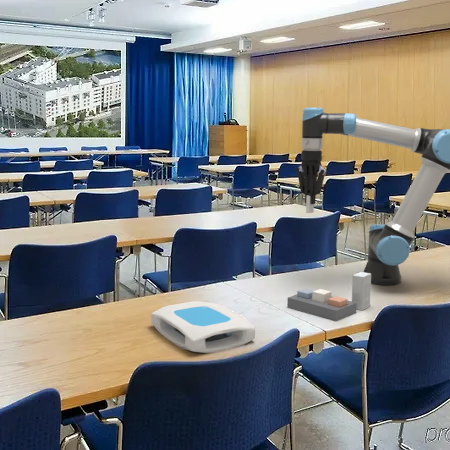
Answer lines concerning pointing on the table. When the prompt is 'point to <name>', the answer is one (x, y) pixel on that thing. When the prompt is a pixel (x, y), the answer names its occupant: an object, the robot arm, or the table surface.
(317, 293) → the white key
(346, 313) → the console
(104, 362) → the table surface
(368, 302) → the skincare box
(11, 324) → the table surface
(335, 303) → the terracotta key
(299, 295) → the slate key
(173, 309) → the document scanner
